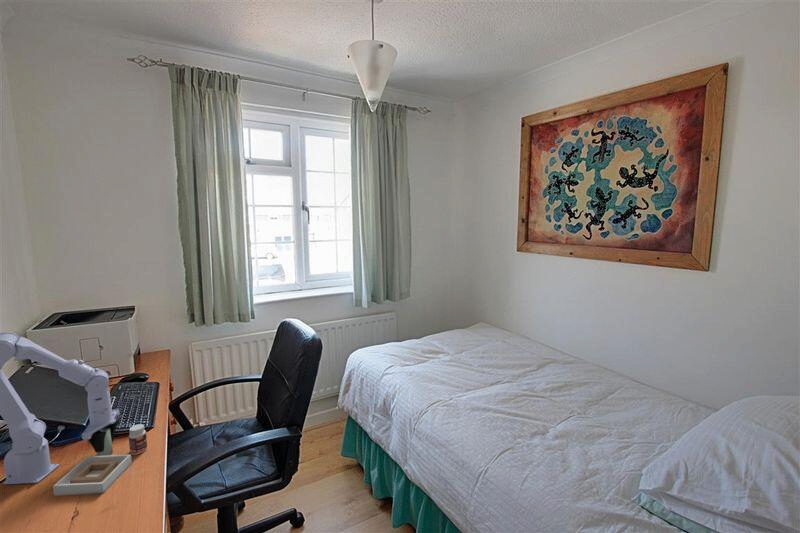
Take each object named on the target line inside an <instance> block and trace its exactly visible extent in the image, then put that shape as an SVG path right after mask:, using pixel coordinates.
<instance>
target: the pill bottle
mask: <svg viewBox="0 0 800 533" xmlns="http://www.w3.org/2000/svg"><path fill="white" fill-rule="evenodd" d="M147 442H148V441H147V431H146V430H145V425H144V424H142V423H138V424H134V425H132V426H130V427H129V435H128V444H129V445H128V446H129V452H130V454H131V455H136V456H137V455H140V454H142V453H145V452H146V451H147V449H148V443H147Z"/></svg>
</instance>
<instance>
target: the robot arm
mask: <svg viewBox="0 0 800 533" xmlns="http://www.w3.org/2000/svg"><path fill="white" fill-rule="evenodd" d="M12 358H14V359H13V361H14V362H15V361H22V360H31V361H33V362H35V363H36V362H37V363H39V364H41V365H44V366H46V367H49V368H52V369H54V370H56V371H58V376H59V377H60V378H63V379H65V380H67V381H69V382H71V383H74V384H76V385H78V386H82V387H84V390H85V391H86V392H87V398H86V400H87V408H88V417H89V424H88V425H87V427H86V428H85V430H84V431H83V433H81V438H82V440H83V441H84V440H85V441H86V440H87V442H89V443H90V444H91V446H92V448H93V450H94V452H95V453H97V452H102V451H103V450H104V438H105V435H106V432H101V431H100V429H103V428H110V431H111V440H112V443H114V438H115V432H116V430H117V427H118V425H119V423H120V419H119V418H116V417H118V416H120V409H118V408H117V409H112V401H111V393H110V387H109V386H110V382H109V375H108V373H107V372H106V371H105V370H104V369H102V368H98V367H95V368H94V367H91V365H87V364H86V363H84V362H85V361H84V360H83V359H78V360H77V359H75V358H72V359H64V358H63V357H61V356H59V355H57V354H55V353H54V352H51V351H50V350H48V349H46V348H45V347H42V346H41V345H38V344H36V343H35V342H33V341H31V340H30V339H28V338H27V337H23V336H19V335H17V333H14V332H7V331H4V332H0V416H1V418H2V419H3V421H4V423H5V424H6V425H7V427H8V431H9V432H8V433H9V437H10V438H11V441H12V448H11V449H9V450H8V451H7V453H6V455H5V456H4V459H3V467H4V474H5V481H4V482H3V485H18V484H37V483H38V484H39V483H40V482H41V481H42V480H43V479H44V478H46V477H47V476H48V475H49V474H50V473H53V471H54V470H55V469H57V468H58V467H59V466H60V463H52V462H51V457H50V448H49V441H48V439H46V438H45V437H44V436H45V432H46V430H47V425H46V423H45V422H44V421H42V420H40V419H38V418H37V417H36V415H35V414H34V413H31V412H30V411H29V410H28V407H27V406H26V405H25V403H24V402H23V400H22V399H21V397H20V396H19V394H18V393H17V391H16V390H15V388H14V386H13V385H12V384H11V382H10V380H9V379H8V377H7V376H6V374H5V372H4V371H3V370H2V369H3V368H4V366H5V364H6V363H7V362H9V361H10V360H11V359H12Z"/></svg>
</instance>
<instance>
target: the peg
mask: <svg viewBox="0 0 800 533" xmlns="http://www.w3.org/2000/svg"><path fill="white" fill-rule="evenodd" d="M100 431H101V432H106V435H105V438H104V450H103V451H102V452H96V456H106V455H113V450H114V449H113V442H112V440H111V431H110V428H103V429H100Z"/></svg>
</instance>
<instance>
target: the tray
mask: <svg viewBox="0 0 800 533" xmlns="http://www.w3.org/2000/svg"><path fill="white" fill-rule="evenodd" d="M132 464H133V462H132V454H131V453H130V454H110V455H106V456H97V455H87V456H86V457H84V458H83V459H81V461H80V462H79V463H78V464H76V465H75V466H74V467H73V468H71V469H70V471H68V472H67V473H66V474H65V475H64V476H62V478H60V479H59V480H58V481H57V482H55V484H53V486H52V488H53V495H54V496H55V497H57V496H75V495H76V496H78V495H95V494H105V492H106V491H107V490H108V489H109V488H110V487H111V486H112V485H113V484H114V483H115V482H116V480H118V479H119V477H120V476H121V475H122V474H123V473H124V472H125V471H126V470H127V469H128V468H129V467H130V466H131V465H132Z"/></svg>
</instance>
